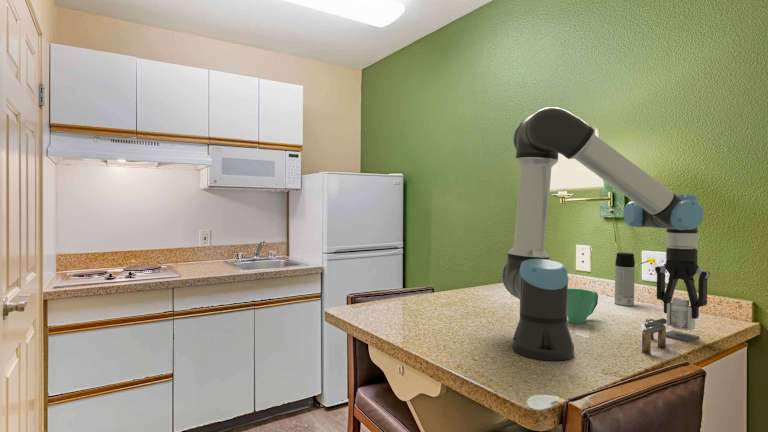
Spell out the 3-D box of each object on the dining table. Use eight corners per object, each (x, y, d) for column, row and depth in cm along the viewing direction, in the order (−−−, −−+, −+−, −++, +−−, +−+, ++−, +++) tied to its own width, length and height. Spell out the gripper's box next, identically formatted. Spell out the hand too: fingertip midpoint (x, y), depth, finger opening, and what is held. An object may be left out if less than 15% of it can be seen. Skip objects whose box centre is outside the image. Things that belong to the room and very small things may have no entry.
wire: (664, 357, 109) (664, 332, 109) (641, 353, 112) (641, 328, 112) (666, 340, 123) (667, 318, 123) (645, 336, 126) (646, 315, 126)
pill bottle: (690, 327, 127) (690, 298, 127) (691, 331, 123) (691, 301, 123) (670, 324, 130) (671, 296, 129) (671, 328, 125) (671, 299, 125)
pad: (687, 342, 121) (687, 340, 121) (661, 335, 127) (661, 333, 127) (699, 338, 125) (699, 336, 125) (672, 332, 131) (672, 330, 131)
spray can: (634, 303, 170) (635, 253, 169) (633, 307, 164) (634, 254, 164) (615, 301, 173) (616, 251, 173) (613, 304, 168) (614, 253, 167)
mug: (580, 327, 136) (581, 295, 136) (554, 320, 144) (554, 290, 144) (608, 321, 143) (609, 291, 143) (582, 314, 152) (582, 286, 152)
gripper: (723, 249, 120) (722, 332, 121) (655, 244, 135) (654, 318, 136) (712, 250, 116) (710, 336, 117) (642, 245, 131) (642, 322, 132)
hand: (680, 326), depth 126 cm, fingers closed on pill bottle, 5 cm apart
